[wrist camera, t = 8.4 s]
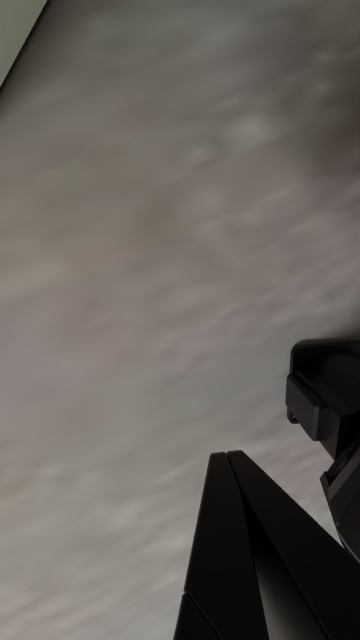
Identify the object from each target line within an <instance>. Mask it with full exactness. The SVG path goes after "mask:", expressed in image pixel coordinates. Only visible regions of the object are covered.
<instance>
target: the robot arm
mask: <svg viewBox="0 0 360 640" xmlns="http://www.w3.org/2000/svg"><path fill="white" fill-rule="evenodd" d="M300 351H301V353H300V354H299V355H297V353H298V352H300ZM286 406H287V407H288V408H287V418H288V420H289V421H290V422H291V423H292V424H298V423H300V425H301V426H302V427H303V429H304V430H305V432H306V433H307V434H308V436H309V437H310V438H311V439H312V440H313V441H320V443H321V444H322V445H323V447H324V448H325V449H326V451H327V452H328V453H329V455H330V456H331V457H332V458H333V460H334V463H333V464H332V465H331V467H330V468H329V469H328V471H327V472H326V471H325V472H324V473H323V474H322V476H321V477H320V481H321V484H322V487H323V490H324V493H325V496H326V499H327V502H328V506H329V509H330V512H331V515H332V518H333V521H334V524H335V527H336V530H337V533H338V536H339V538H340V540H341V543H342V545H343V546H344V548H345V549H344V548H343V547H342V546H341V545H340V544H339V543H338V542H337V541H336V540H335V539H334V538H333V537H332V536H331V535H330V534H329V533H327V532H326V531H325V530H324V529H323V528H322V527H321V526H320V525H319V524H318V523H317V522H316V521H315V520H314V519H313V518H312V517H311V516H310V515H309V514H308V513H307V512H306V511H305V510H304V509H303V508H301V507H300V506H299V505H298V504H297V503H296V502H295V501H294V500H293V499H292V498H291V497H290V496H289V495H288V494H287V493H286V492H285V491H284V490H283V489H282V488H281V487H280V486H279V485H278V484H276V483H275V482H274V481H273V480H272V479H271V478H270V477H269V476H268V475H267V474H266V473H265V472H264V471H263V470H262V469H261V468H260V467H259V466H258V465H257V464H256V463H255V462H254V461H253V460H252V459H250V458H249V457H248V456H247V455H246V454H245V453H244V452H243V451H241V450H235V451H228V452H227V453H225V452H217V453H211V455H210V458H209V463H208V468H207V473H206V478H205V483H204V489H203V494H202V499H201V504H200V509H199V514H198V519H197V524H196V529H195V535H194V540H193V545H192V550H191V555H190V560H189V565H188V570H187V575H186V581H185V586H184V594H183V595H182V600H181V605H180V610H179V615H178V620H177V624H176V629H175V633H174V638H173V640H360V341H349V342H338V343H327V344H315V345H304V346H296V347H294V348H293V349H292V350H291V358H290V374H289V375H288V376H287V385H286ZM293 417H295V418H293Z"/></svg>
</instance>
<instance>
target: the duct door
mask: <svg viewBox="0 0 360 640" xmlns="http://www.w3.org/2000/svg"><path fill="white" fill-rule="evenodd" d="M46 2H47V0H0V86H1V85H2V83H3V81H4V79H5V77H6V75H7V73H8V72H9V70H10V68H11V66H12V64H13V62H14V61H15V59H16V57H17V55H18V53H19V51H20V50H21V48H22V46H23V44H24V42H25V40H26V38H27V37H28V35H29V33H30V31H31V29H32V27H33V26H34V24H35V22H36V20H37V18H38V16H39V14H40V13H41V11H42V9H43V7H44V5H45V3H46Z"/></svg>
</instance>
